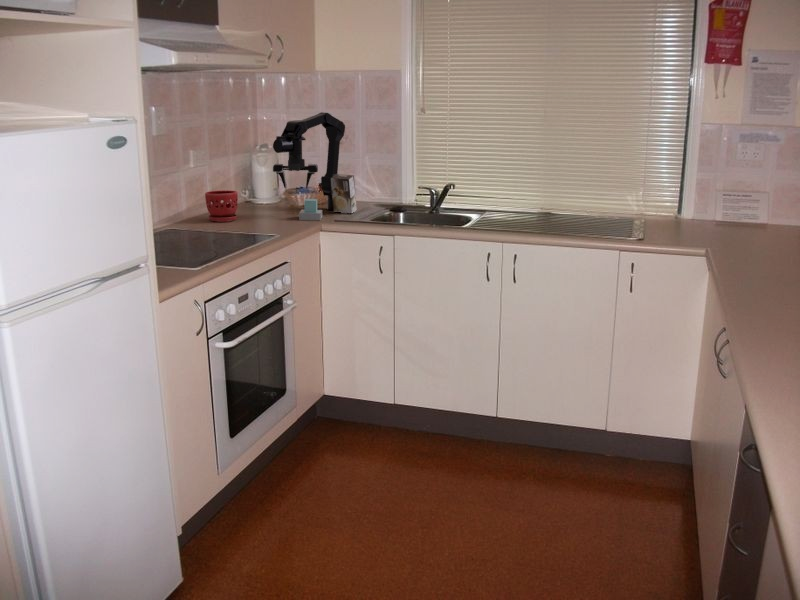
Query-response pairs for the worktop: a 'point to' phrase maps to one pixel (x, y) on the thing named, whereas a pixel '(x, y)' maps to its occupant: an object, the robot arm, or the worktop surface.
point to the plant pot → (222, 205)
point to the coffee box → (343, 193)
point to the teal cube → (310, 205)
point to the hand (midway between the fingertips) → (295, 188)
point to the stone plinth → (310, 215)
